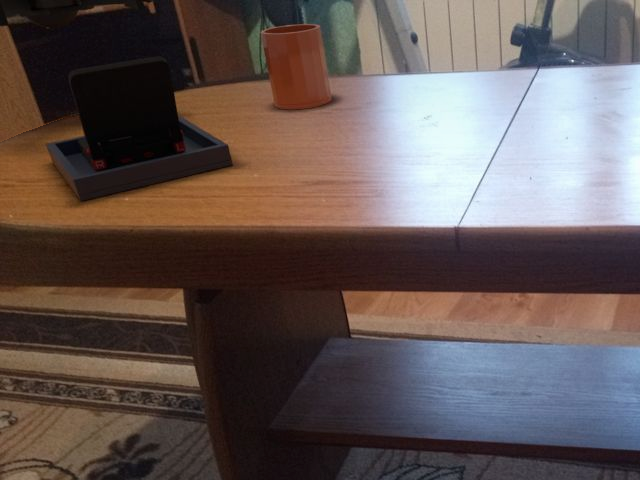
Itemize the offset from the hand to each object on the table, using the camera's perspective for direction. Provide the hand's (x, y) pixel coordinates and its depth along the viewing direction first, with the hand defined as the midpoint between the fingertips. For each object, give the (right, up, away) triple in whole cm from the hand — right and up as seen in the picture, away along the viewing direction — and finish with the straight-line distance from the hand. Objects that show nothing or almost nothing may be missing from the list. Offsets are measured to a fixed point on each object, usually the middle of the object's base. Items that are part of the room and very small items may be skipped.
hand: (71, 3), depth 77 cm
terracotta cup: (+20, -4, +20) cm, 28 cm away
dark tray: (+7, -17, 0) cm, 18 cm away
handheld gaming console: (+7, -16, +1) cm, 17 cm away
